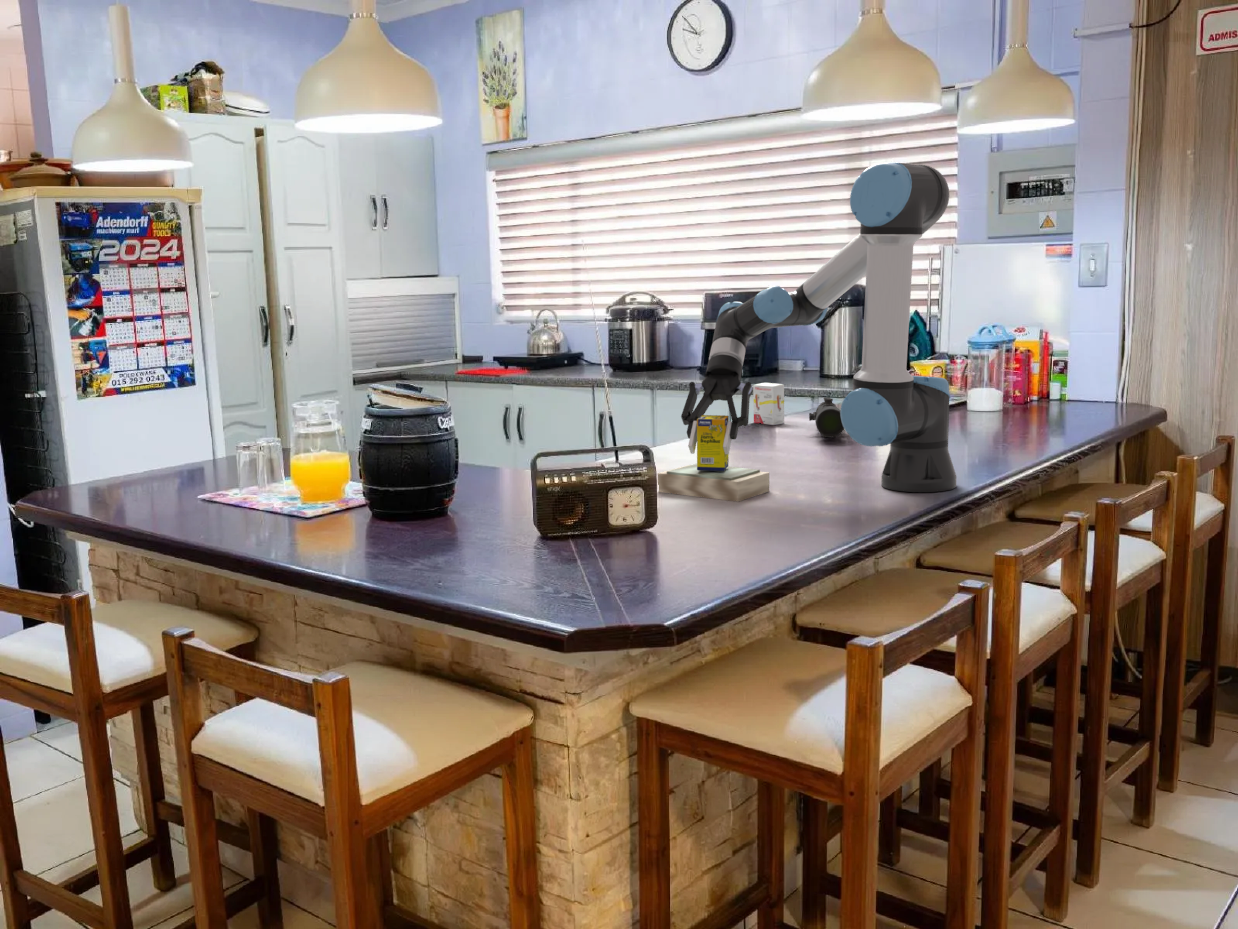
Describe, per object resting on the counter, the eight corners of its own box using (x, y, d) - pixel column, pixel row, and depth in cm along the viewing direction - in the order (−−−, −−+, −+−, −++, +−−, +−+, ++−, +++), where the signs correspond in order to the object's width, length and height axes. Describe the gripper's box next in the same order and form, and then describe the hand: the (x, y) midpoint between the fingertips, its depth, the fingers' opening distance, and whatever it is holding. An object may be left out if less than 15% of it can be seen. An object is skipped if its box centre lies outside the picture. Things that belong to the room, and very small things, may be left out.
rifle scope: (845, 428, 320) (845, 393, 318) (851, 441, 294) (851, 404, 293) (808, 428, 321) (808, 393, 320) (810, 442, 296) (810, 404, 294)
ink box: (752, 423, 336) (752, 383, 334) (764, 421, 339) (763, 382, 337) (773, 425, 330) (773, 385, 328) (785, 423, 333) (784, 384, 331)
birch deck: (769, 491, 233) (769, 470, 232) (738, 501, 224) (737, 479, 223) (690, 482, 245) (690, 462, 245) (658, 491, 236) (657, 471, 235)
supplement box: (725, 471, 230) (725, 419, 228) (696, 470, 232) (696, 418, 230) (729, 466, 236) (729, 415, 234) (701, 465, 237) (700, 414, 235)
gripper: (772, 374, 242) (758, 461, 229) (685, 375, 248) (666, 459, 236) (767, 352, 236) (752, 440, 224) (678, 353, 242) (658, 438, 230)
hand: (708, 449), depth 230 cm, fingers open, 7 cm apart
